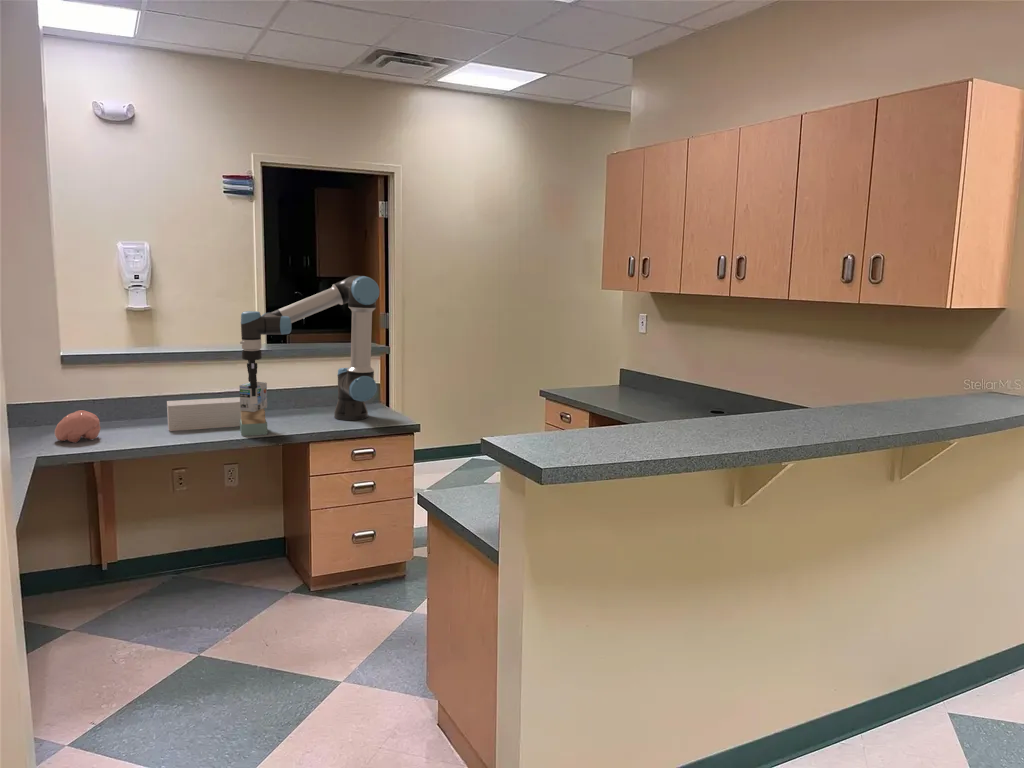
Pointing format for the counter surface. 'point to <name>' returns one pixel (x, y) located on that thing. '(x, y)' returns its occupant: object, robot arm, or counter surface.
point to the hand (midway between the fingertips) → (253, 400)
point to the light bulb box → (245, 397)
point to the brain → (78, 426)
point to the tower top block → (253, 417)
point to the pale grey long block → (203, 413)
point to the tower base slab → (253, 429)
